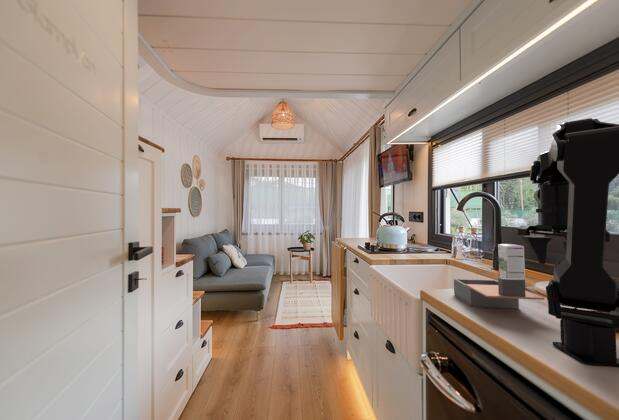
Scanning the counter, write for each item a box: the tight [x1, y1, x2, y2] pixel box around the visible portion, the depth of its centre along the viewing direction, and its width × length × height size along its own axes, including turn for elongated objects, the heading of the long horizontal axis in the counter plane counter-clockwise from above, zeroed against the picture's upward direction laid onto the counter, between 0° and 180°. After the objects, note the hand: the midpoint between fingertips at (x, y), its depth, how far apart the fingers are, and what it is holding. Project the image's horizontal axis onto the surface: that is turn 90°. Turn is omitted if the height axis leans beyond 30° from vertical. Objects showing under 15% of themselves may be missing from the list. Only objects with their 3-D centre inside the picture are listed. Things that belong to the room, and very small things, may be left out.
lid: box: [466, 277, 545, 301], centre depth 64 cm, size 10×12×4 cm
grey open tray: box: [453, 278, 520, 309], centre depth 71 cm, size 10×12×5 cm
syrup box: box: [497, 243, 527, 288], centre depth 89 cm, size 6×6×14 cm
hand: (557, 267), depth 60 cm, fingers open, 9 cm apart
